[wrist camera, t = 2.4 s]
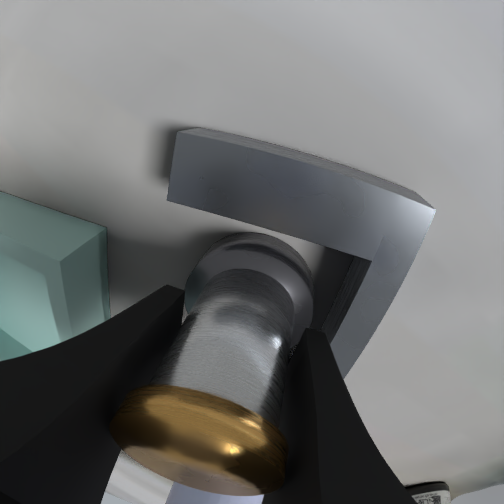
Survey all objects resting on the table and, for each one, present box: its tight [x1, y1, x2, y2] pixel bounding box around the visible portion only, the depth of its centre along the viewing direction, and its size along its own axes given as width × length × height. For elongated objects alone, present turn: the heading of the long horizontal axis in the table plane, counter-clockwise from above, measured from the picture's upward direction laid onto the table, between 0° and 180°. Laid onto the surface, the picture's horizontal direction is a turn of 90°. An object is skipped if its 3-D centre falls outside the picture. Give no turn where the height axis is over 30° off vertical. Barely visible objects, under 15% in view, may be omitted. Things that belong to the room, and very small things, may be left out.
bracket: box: [167, 127, 436, 379], centre depth 10 cm, size 10×7×2 cm
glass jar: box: [109, 233, 314, 496], centre depth 8 cm, size 4×4×7 cm
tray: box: [0, 191, 111, 361], centre depth 13 cm, size 13×13×3 cm
